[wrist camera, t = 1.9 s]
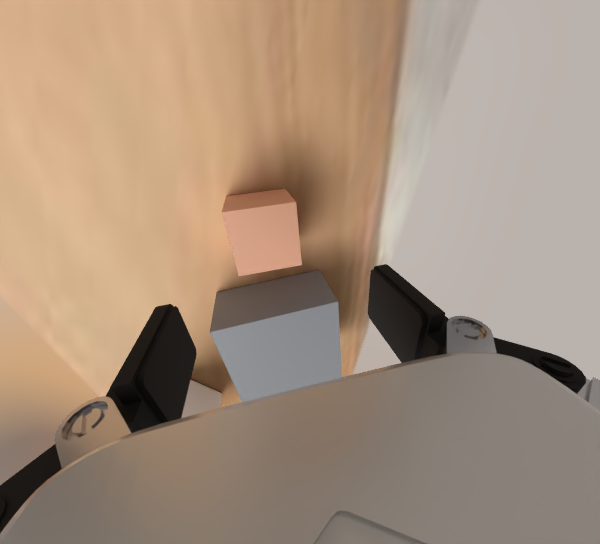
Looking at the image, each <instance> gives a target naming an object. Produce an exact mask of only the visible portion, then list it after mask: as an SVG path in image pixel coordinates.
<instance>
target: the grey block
mask: <svg viewBox="0 0 600 544" xmlns="http://www.w3.org/2000/svg"><path fill="white" fill-rule="evenodd" d="M210 334H211V336H212V338H213V340H214V343H215V345H216V347H217V349H218V351H219V353H220V355H221V358H222V360H223V362H224V364H225V366H226V368H227V370H228V373H229V375H230V377H231V379H232V381H233V383H234V386H235V388H236V390H237V392H238V394H239V396H240V398H241V401H242V402H246V401H250V400H254V399H257V398H261V397H265V396H269V395H273V394H277V393H281V392H285V391H289V390H293V389H297V388H301V387H305V386H309V385H313V384H318V383H322V382H326V381H330V380H334V379H338V378H342V372H341V351H340V329H339V307H338V300H337V299H336V297H335V295H334V293H333V292H332V290H331V288H330V287H329V285H328V283H327V281H326V280H325V278H324V276H323V275H322V273H321V271H320V270H316V271H311V272H307V273H302V274H297V275H293V276H288V277H284V278H279V279H275V280H270V281H266V282H261V283H257V284H252V285H248V286H243V287H239V288H234V289H229V290H225V291H220V292H217V293H216V299H215V305H214V311H213V317H212V323H211V328H210Z"/></svg>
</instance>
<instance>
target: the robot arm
mask: <svg viewBox="0 0 600 544" xmlns="http://www.w3.org/2000/svg"><path fill="white" fill-rule="evenodd" d="M368 315H369V318H370V319H371V321H372V322H373V324H374V325H375V326H376V328H377V329H378V330H379V332H380V333H381V335H382V336H383V337H384V339H385V340H386V341H387V343H388V344H389V345H390V347H391V348H392V350H393V351H394V353H395V354H396V355H397V357H398V358H399V359H400V361H401V362H402V363H400V364H396V365H391V366H387V367H383V368H379V369H375V370H371V371H367V372H363V373H359V374H354V375H350V376H346V377H342V378H338V379H334V380H330V381H326V382H322V383H318V384H313V385H309V386H305V387H301V388H297V389H293V390H289V391H285V392H281V393H277V394H273V395H269V396H265V397H261V398H257V399H254V400H250V401H246V402H242V403H238V404H234V405H230V406H226V407H222V408H218V409H214V410H210V411H206V412H202V413H199V414H195V415H191V416H188V417H184V418H181V417H182V413H183V409H184V405H185V401H186V396H187V392H188V388H189V384H190V380H191V376H192V371H193V367H194V363H195V359H196V348H195V346H194V343H193V341H192V339H191V337H190V334H189V332H188V330H187V328H186V325H185V323H184V321H183V319H182V316H181V314H180V312H179V310H178V308H177V307H176V306H175V307H173V305H171V304H168V305H163V306H157V307H156V308H155V309H154V311H153V313H152V315H151V316H150V318H149V320H148V322H147V323H146V325H145V327H144V329H143V331H142V332H141V334H140V336H139V338H138V339H137V341H136V343H135V345H134V346H133V348H132V350H131V352H130V353H129V355H128V357H127V359H126V361H125V362H124V364H123V366H122V368H121V369H120V371H119V373H118V375H117V376H116V378H115V380H114V382H113V384H112V385H111V387H110V390H109V391H108V393H107V395H106V397H105V396H103V397H97V398H95V399H92V400H89V401H87V402H85V403H84V404H82V405H80V406H79V407H78V408H76V409H75V410H74V411H72V412H71V413H70V414H69V415H68V416H67V417H66V418H65V419H64V420H63V421H62V423H61V424H60V426H59V427H58V429H57V431H56V434H55V445H53V446H52V447H51V448H49V449H48V450H47V451H45V452H44V453H43V454H41V455H40V456H39V457H37V458H36V459H35V460H33V461H32V462H31V463H30V464H28V465H27V466H25V467H24V468H23V469H22V470H20V471H19V472H18V473H16V474H15V475H14V476H12V477H11V478H10V479H8V480H7V481H6V482H4V483H3V484H2V485H0V544H600V380H598V379H596V378H593V379H592V380H591V381H590V380H588V379H586V377H585V376H584V374H583V373H582V371H580V370H579V369H578V368H577V367H576V366H575V365H573V364H572V363H570V362H569V361H567V360H565V359H563V358H561V357H559V356H556V355H553V354H551V353H547V352H544V351H540V350H537V349H533V348H530V347H526V346H522V345H519V344H515V343H512V342H508V341H505V340H501V339H497V338H494V337H493V335H492V332H491V330H490V329H489V328H488V327H487V326H486V325H485V324H483V323H482V322H480V321H478V320H476V319H473V318H469V317H465V316H455V317H452V318H450V319H448V318H447V317H446V316H445V312H443V311H442V310H441V309H440V308H439V307H437V306H436V305H435V304H434V303H432V302H431V301H430V300H429V299H428V298H427V297H425V296H424V295H423V294H422V293H420V292H419V291H418V290H417V289H416V288H415V287H413V286H412V285H411V284H410V283H409V282H407V281H406V280H405V279H404V278H403V277H401V276H400V275H399V274H398V273H396V272H395V271H394V270H393V269H392V268H391V267H389V266H388V265H387V264H385V265H380V266H375V267H374V270H371V275H370V289H369V303H368Z"/></svg>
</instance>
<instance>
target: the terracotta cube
mask: <svg viewBox="0 0 600 544" xmlns="http://www.w3.org/2000/svg"><path fill="white" fill-rule="evenodd" d="M222 215H223V219H224V223H225V227H226V230H227V234H228V238H229V242H230V246H231V249H232V253H233V257H234V261H235V265H236V268H237V272H238V276H244V275H249V274H255V273H260V272H266V271H272V270H277V269H283V268H288V267H294V266H299V265H302V261H301V250H300V239H299V228H298V217H297V206H296V201H295V200H294V199H293V198H292V196H291V195H290V194H289V193H288V192H287V190H286V189H277V190H269V191H262V192H254V193H247V194H239V195H231V196H226V199H225V202H224V206H223V210H222Z"/></svg>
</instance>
